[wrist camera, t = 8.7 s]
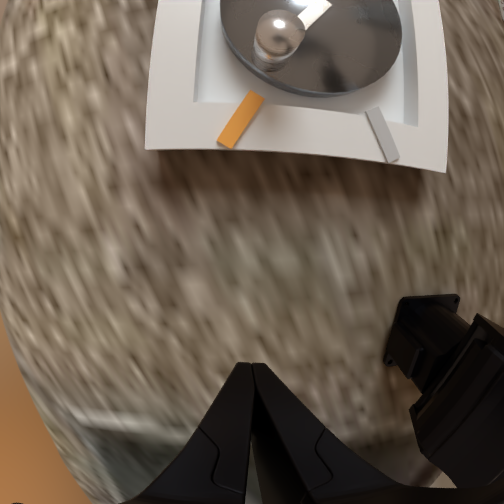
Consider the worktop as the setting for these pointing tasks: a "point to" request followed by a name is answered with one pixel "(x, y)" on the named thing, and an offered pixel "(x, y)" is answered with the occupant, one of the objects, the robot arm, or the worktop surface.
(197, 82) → the bezel
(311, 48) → the dial
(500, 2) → the supplement box
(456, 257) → the worktop surface
